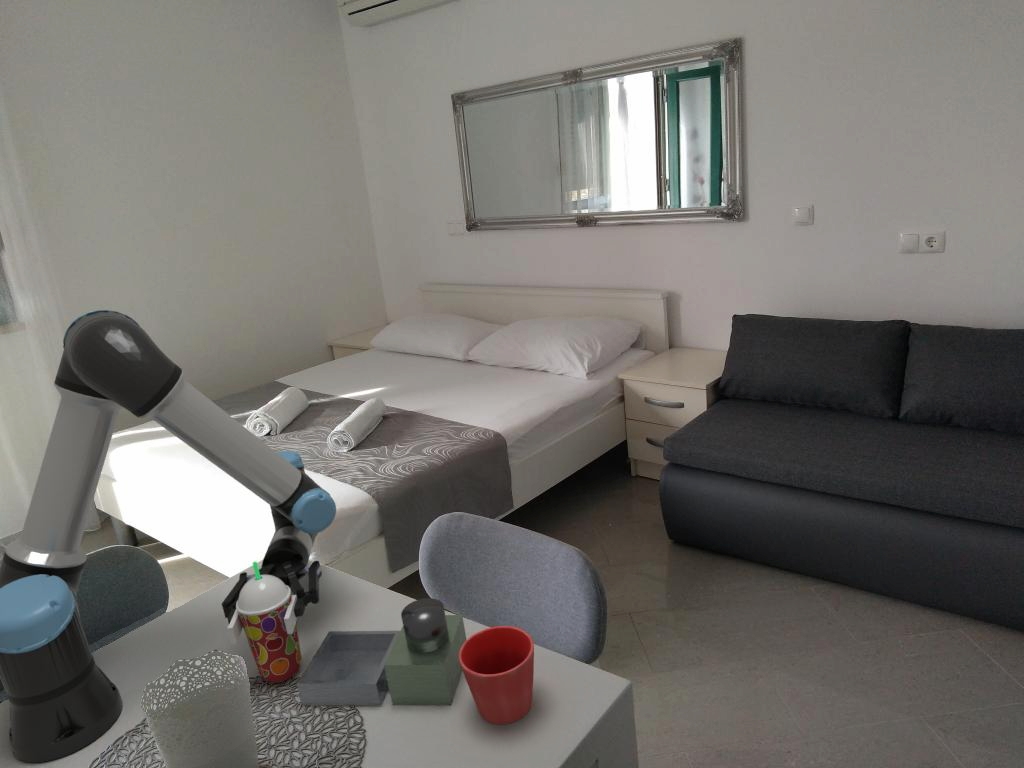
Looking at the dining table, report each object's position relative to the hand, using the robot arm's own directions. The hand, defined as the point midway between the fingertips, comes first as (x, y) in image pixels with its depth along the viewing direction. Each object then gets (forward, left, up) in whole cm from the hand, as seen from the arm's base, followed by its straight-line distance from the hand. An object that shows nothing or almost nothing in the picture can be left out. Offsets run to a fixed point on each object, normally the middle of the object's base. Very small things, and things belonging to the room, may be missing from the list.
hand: (260, 630), depth 115 cm
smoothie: (-1, +5, -11) cm, 12 cm away
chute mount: (+17, +4, -11) cm, 21 cm away
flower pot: (+37, -2, -12) cm, 39 cm away
